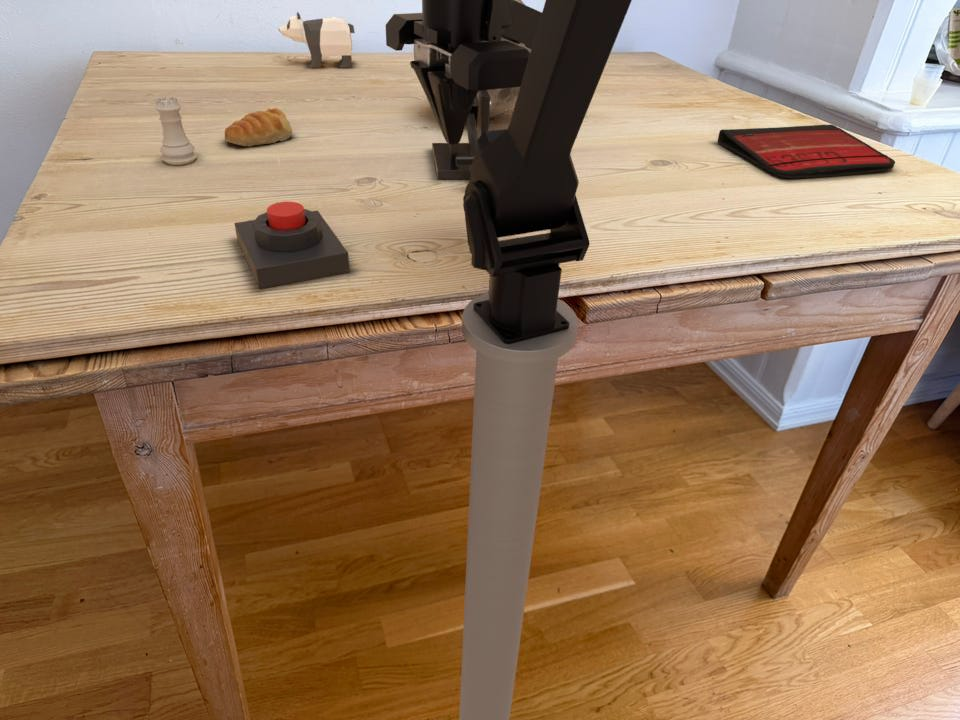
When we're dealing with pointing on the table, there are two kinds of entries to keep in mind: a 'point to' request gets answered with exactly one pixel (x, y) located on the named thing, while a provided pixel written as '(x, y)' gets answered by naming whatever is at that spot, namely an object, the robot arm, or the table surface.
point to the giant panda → (322, 38)
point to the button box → (291, 250)
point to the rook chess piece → (173, 133)
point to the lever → (470, 136)
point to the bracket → (461, 145)
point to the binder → (805, 151)
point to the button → (286, 216)
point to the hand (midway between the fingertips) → (452, 143)
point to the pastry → (259, 128)
